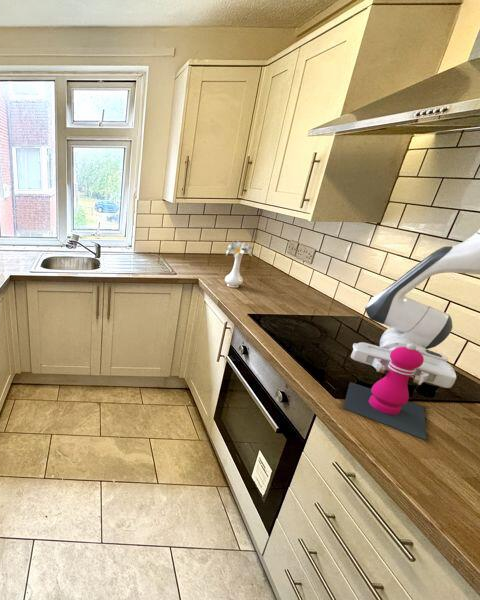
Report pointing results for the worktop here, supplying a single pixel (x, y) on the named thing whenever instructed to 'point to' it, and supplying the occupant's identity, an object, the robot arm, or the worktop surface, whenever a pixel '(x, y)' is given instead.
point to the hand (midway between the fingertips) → (398, 375)
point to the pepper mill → (396, 380)
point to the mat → (405, 420)
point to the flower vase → (236, 262)
